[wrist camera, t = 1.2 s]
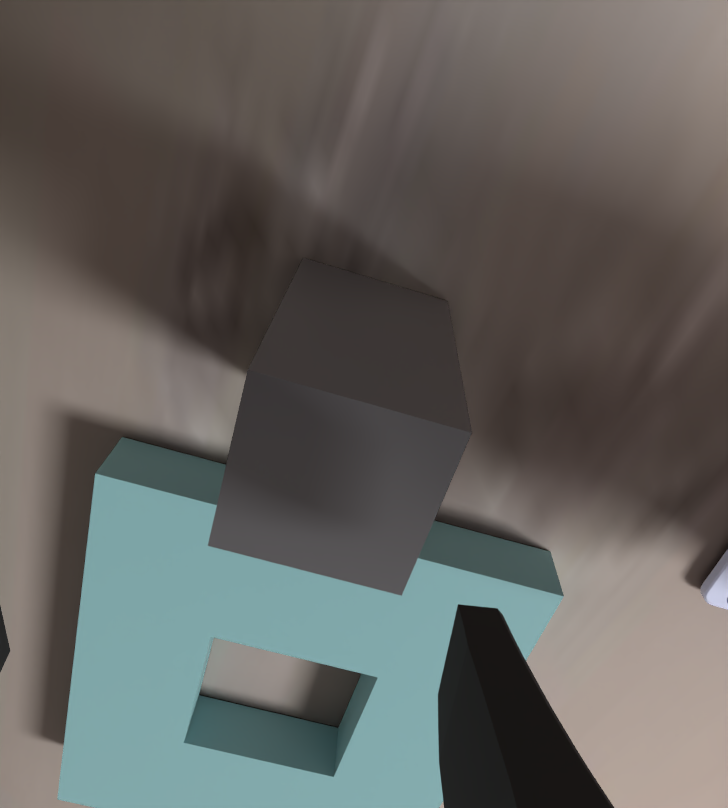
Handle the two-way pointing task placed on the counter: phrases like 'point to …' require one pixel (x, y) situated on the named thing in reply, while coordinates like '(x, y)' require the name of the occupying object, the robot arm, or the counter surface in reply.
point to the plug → (345, 431)
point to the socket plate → (269, 630)
